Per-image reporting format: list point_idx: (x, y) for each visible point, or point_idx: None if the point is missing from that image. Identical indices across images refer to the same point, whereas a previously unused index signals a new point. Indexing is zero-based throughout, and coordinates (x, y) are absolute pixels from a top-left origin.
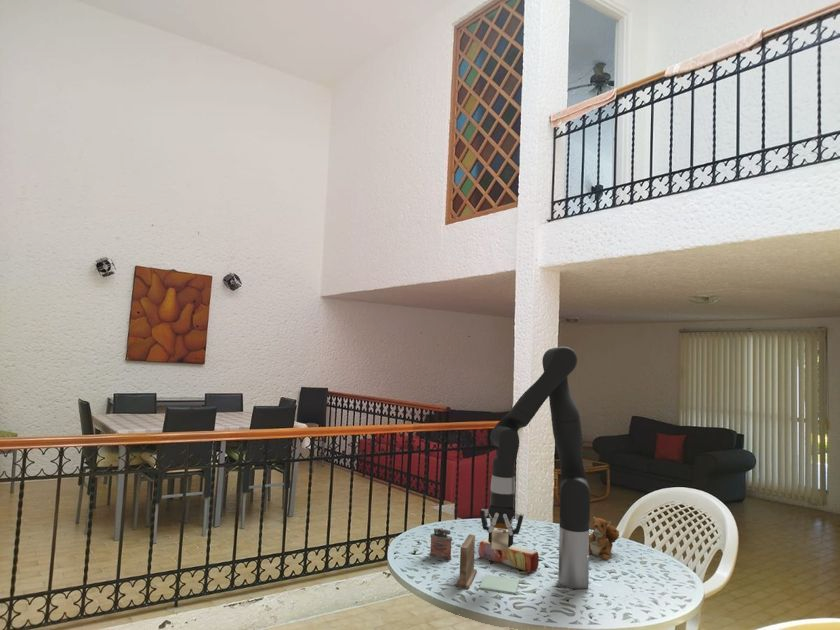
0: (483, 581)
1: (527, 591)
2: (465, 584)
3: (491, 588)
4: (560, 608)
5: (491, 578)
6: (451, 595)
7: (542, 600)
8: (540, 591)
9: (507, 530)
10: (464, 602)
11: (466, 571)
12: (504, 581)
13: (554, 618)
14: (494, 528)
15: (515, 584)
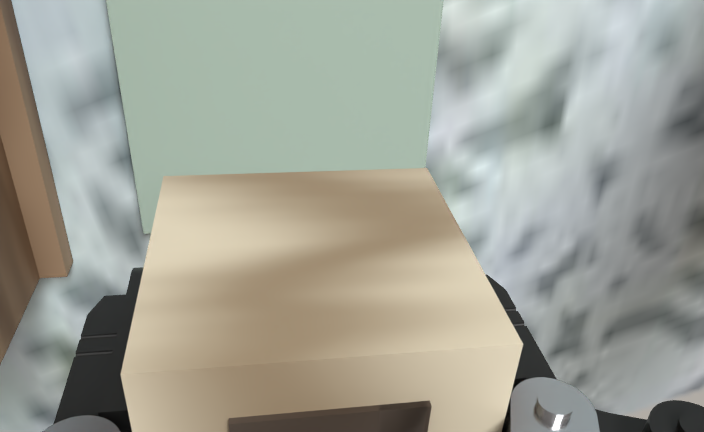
0: (138, 118)
1: (502, 133)
2: (35, 280)
3: None
4: (670, 289)
5: (187, 20)
6: (6, 381)
7: (586, 232)
8: (600, 96)
9: (460, 402)
10: None
11: (3, 334)
12: (316, 46)
13: (607, 393)
14: (140, 418)
15: (414, 75)
